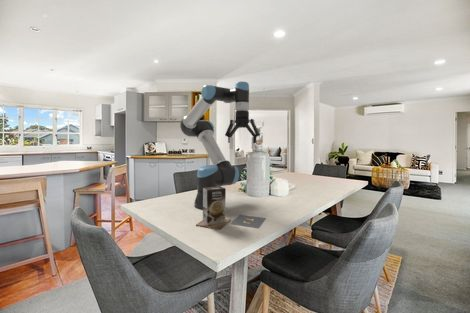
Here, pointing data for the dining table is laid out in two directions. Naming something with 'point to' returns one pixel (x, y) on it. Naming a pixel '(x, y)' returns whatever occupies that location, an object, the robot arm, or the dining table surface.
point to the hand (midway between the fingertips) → (241, 149)
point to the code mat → (248, 221)
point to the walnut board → (214, 226)
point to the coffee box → (214, 205)
